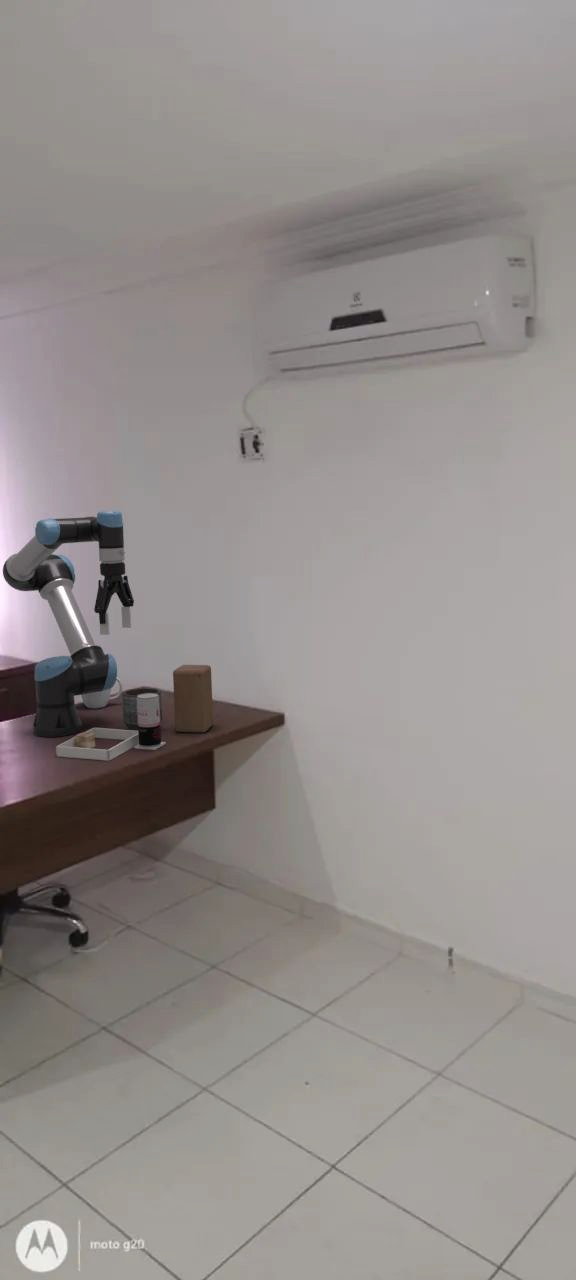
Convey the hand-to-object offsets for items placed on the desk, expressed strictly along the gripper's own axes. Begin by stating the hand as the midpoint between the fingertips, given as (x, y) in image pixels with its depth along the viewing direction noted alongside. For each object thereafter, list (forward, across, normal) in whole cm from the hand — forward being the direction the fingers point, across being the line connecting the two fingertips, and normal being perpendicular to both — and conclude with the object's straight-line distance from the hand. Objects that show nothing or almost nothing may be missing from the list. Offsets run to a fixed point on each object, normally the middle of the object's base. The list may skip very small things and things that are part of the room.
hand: (116, 631), depth 285 cm
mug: (+33, +31, +26) cm, 52 cm away
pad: (+33, -10, -15) cm, 37 cm away
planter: (+33, +5, -5) cm, 34 cm away
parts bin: (+33, -16, -2) cm, 36 cm away
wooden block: (+33, +11, -20) cm, 40 cm away
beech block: (+33, -16, +3) cm, 37 cm away
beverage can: (+32, -10, -15) cm, 37 cm away
